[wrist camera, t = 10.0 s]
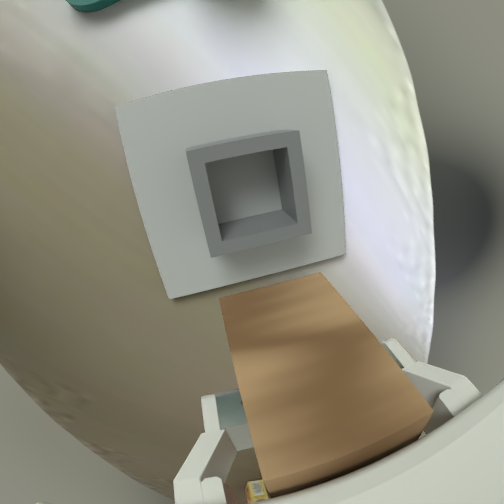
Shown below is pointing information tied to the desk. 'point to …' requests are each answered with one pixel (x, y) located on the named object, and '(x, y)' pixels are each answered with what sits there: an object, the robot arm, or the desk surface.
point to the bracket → (90, 4)
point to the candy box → (255, 491)
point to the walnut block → (316, 384)
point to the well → (236, 177)
